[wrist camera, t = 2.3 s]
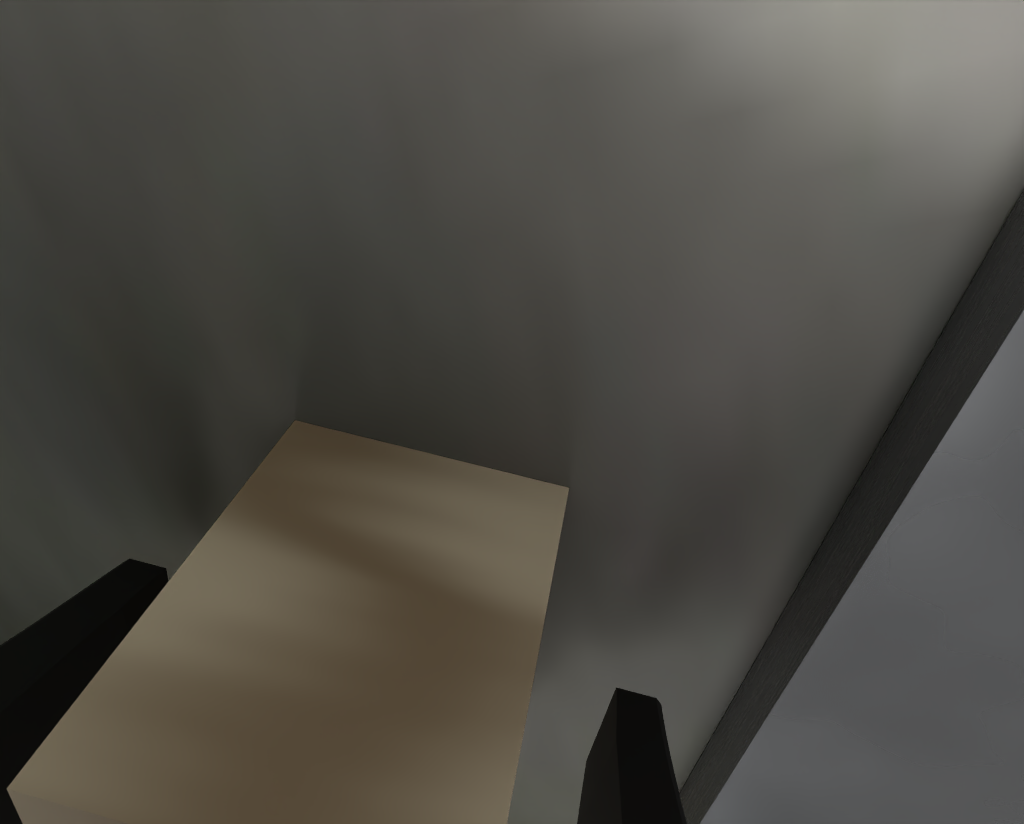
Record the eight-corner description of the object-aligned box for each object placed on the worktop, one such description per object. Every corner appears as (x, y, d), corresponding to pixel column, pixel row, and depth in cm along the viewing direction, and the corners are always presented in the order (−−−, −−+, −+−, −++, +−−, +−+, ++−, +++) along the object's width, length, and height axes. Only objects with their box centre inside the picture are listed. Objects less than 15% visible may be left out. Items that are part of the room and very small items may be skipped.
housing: (298, 654, 15) (96, 1044, 10) (296, 418, 11) (-20, 822, 6) (508, 710, 14) (417, 1142, 9) (569, 486, 11) (478, 968, 6)
